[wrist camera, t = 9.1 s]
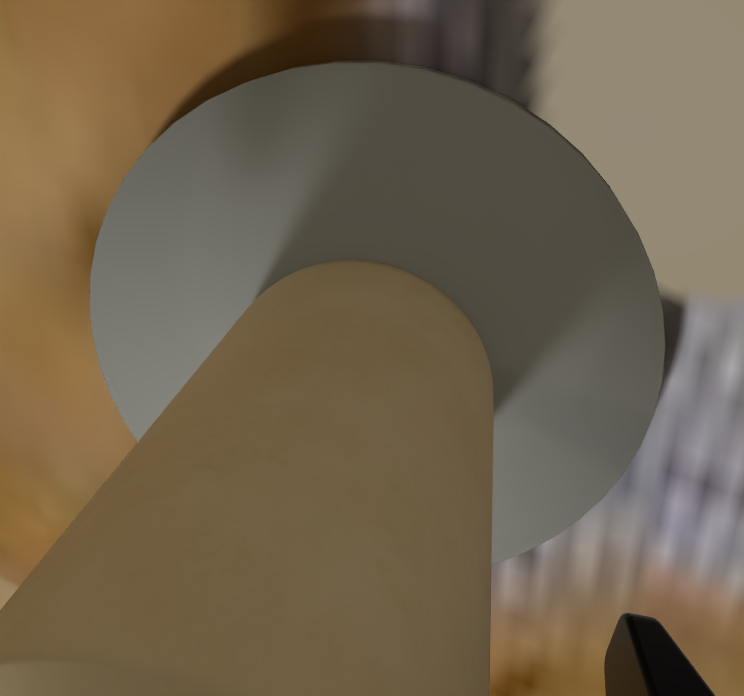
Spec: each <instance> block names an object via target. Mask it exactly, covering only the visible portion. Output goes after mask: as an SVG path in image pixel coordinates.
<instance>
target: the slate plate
mask: <svg viewBox="0 0 744 696" xmlns="http://www.w3.org/2000/svg"><path fill="white" fill-rule="evenodd" d="M335 260H364V261H373V262H378V263H383V264H388V265H391V266H394V267H397V268H400V269H403V270H406V271H408V272H410V273H412V274H414V275H417V276H419V277H421V278H423V279H424V280H426V281H428V282H429V283H431V284H432V285H434V286H435V287H437V288H438V289H440V290H441V291H442V292H443V293H445V294H446V295H447V296H448V297H449V298H451V299H452V300H453V301H454V302H455V303H456V304H457V305H458V307H459V308H460V309H461V310H462V311H463V312H464V313H465V314H466V316H467V317H468V319H469V320H470V321H471V323H472V324H473V326H474V327H475V329H476V331H477V333H478V335H479V337H480V339H481V340H482V343H483V346H484V349H485V351H486V354H487V357H488V360H489V363H490V368H491V374H492V379H493V408H494V432H493V494H492V556H491V564H495V563H498V562H501V561H503V560H506V559H509V558H511V557H514V556H516V555H519V554H521V553H524V552H527V551H528V550H530V549H532V548H534V547H536V546H538V545H540V544H542V543H544V542H545V541H547V540H549V539H551V538H553V537H555V536H556V535H558V534H559V533H560V532H562V531H563V530H565V529H566V528H568V527H569V526H571V525H572V524H573V523H575V522H576V521H578V520H579V519H580V518H581V517H583V516H584V515H585V514H586V513H587V512H588V511H589V510H590V509H591V508H593V507H594V506H595V505H596V504H597V503H598V502H599V501H600V500H601V499H602V498H603V497H604V496H605V495H606V494H607V493H608V491H609V490H610V489H611V488H612V487H613V485H614V484H615V483H616V482H617V481H618V480H619V478H620V477H621V476H622V475H623V474H624V472H625V470H626V469H627V467H628V465H629V464H630V462H631V461H632V459H633V457H634V456H635V454H636V453H637V451H638V449H639V448H640V446H641V444H642V441H643V439H644V437H645V435H646V432H647V430H648V428H649V425H650V423H651V421H652V418H653V416H654V412H655V408H656V404H657V401H658V397H659V393H660V389H661V385H662V378H663V368H664V357H665V334H664V319H663V308H662V304H661V300H660V296H659V291H658V287H657V283H656V278H655V274H654V271H653V268H652V266H651V263H650V261H649V259H648V256H647V254H646V251H645V249H644V246H643V244H642V242H641V239H640V236H639V234H638V232H637V231H636V229H635V228H634V226H633V224H632V223H631V221H630V219H629V218H628V216H627V214H626V213H625V211H624V209H623V208H622V206H621V204H620V203H619V201H618V199H617V198H616V196H615V194H614V193H613V191H612V190H611V188H610V186H609V185H608V184H607V183H606V181H605V180H604V179H603V178H602V177H601V176H600V174H599V173H598V172H597V171H596V169H595V168H594V167H593V166H592V165H591V163H590V162H589V161H588V160H587V159H586V157H585V156H584V155H583V154H582V153H581V152H580V151H579V150H578V149H577V148H576V147H574V146H573V145H572V144H571V143H570V142H569V141H568V140H567V139H565V138H564V137H563V136H562V135H561V134H560V133H559V132H558V131H557V130H555V129H554V128H553V127H552V126H551V125H550V124H548V123H547V122H545V121H544V120H542V119H541V118H539V117H538V116H536V115H535V114H533V113H532V112H530V111H529V110H527V109H526V108H524V107H523V106H521V105H520V104H518V103H517V102H515V101H514V100H512V99H510V98H507V97H505V96H503V95H501V94H499V93H497V92H495V91H493V90H491V89H488V88H486V87H484V86H482V85H480V84H478V83H476V82H474V81H471V80H468V79H464V78H461V77H458V76H455V75H451V74H448V73H445V72H442V71H438V70H435V69H432V68H428V67H422V66H415V65H409V64H403V63H396V62H390V61H360V60H340V61H332V62H325V63H318V64H311V65H303V66H298V67H294V68H291V69H287V70H284V71H281V72H277V73H274V74H270V75H267V76H263V77H260V78H257V79H254V80H251V81H248V82H245V83H243V84H241V85H239V86H237V87H235V88H233V89H230V90H228V91H226V92H224V93H222V94H220V95H218V96H215V97H213V98H211V99H209V100H207V101H205V102H204V103H203V104H201V105H200V106H198V107H197V108H195V109H194V110H192V111H191V112H189V113H188V114H186V115H185V116H183V117H182V118H180V119H179V120H178V121H176V122H175V123H173V124H172V125H171V126H170V127H169V128H168V129H167V130H166V131H165V132H164V133H163V134H162V135H161V136H160V137H159V138H157V139H156V140H155V141H154V142H153V143H152V144H151V145H150V146H149V147H148V148H147V149H146V150H145V151H144V153H143V154H142V155H141V157H140V158H139V159H138V161H137V162H136V163H135V165H134V166H133V167H132V168H131V170H130V171H129V172H128V174H127V175H126V176H125V178H124V179H123V181H122V183H121V185H120V187H119V189H118V191H117V192H116V194H115V196H114V198H113V200H112V202H111V204H110V205H109V207H108V209H107V212H106V215H105V218H104V221H103V224H102V227H101V230H100V233H99V235H98V238H97V241H96V247H95V252H94V258H93V263H92V269H91V279H90V314H91V323H92V333H93V339H94V343H95V348H96V352H97V356H98V360H99V364H100V368H101V371H102V373H103V376H104V378H105V381H106V384H107V386H108V389H109V392H110V394H111V397H112V399H113V401H114V403H115V405H116V406H117V408H118V410H119V412H120V414H121V416H122V418H123V420H124V422H125V424H126V425H127V427H128V428H129V430H130V431H131V433H132V434H133V436H134V437H135V439H136V440H137V442H138V441H139V440H140V439H141V438H142V436H143V435H144V434H145V433H146V432H147V430H148V429H149V428H150V427H151V425H152V424H153V423H154V422H155V421H156V419H157V418H158V417H159V416H160V414H161V413H162V412H163V411H164V410H165V408H166V407H167V406H168V405H169V403H170V402H171V401H172V400H173V399H174V397H175V396H176V395H177V394H178V392H179V391H180V390H181V389H182V388H183V386H184V385H185V384H186V383H187V381H188V380H189V379H190V378H191V377H192V375H193V374H194V373H195V372H196V370H197V369H198V368H199V367H200V366H201V364H202V363H203V362H204V361H205V359H206V358H207V357H208V356H209V355H210V353H211V352H212V351H213V350H214V348H215V347H216V346H217V345H218V344H219V342H220V341H221V340H222V339H223V337H224V336H225V335H226V334H227V333H228V331H229V330H230V329H231V328H232V326H233V325H234V324H235V323H236V322H237V320H238V319H239V318H240V317H241V316H242V314H243V313H244V312H245V311H246V310H247V309H248V308H249V307H250V305H251V304H252V303H253V302H254V301H255V300H256V299H257V298H258V297H259V296H260V295H261V294H262V293H263V292H264V291H265V290H266V289H268V288H269V287H271V286H272V285H274V284H275V283H277V282H278V281H279V280H281V279H283V278H284V277H286V276H288V275H290V274H292V273H294V272H296V271H298V270H300V269H302V268H305V267H308V266H311V265H314V264H318V263H324V262H329V261H335Z"/></svg>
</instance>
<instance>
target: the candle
mask: <svg viewBox="0 0 744 696" xmlns="http://www.w3.org/2000/svg"><path fill="white" fill-rule="evenodd" d="M493 432H494V408H493V379H492V374H491V368H490V363H489V360H488V357H487V354H486V351H485V349H484V346H483V343H482V340H481V339H480V337H479V335H478V333H477V331H476V329H475V327H474V326H473V324H472V323H471V321H470V320H469V319H468V317H467V316H466V314H465V313H464V312H463V311H462V310H461V309H460V308H459V307H458V305H457V304H456V303H455V302H454V301H453V300H452V299H451V298H449V297H448V296H447V295H446V294H445V293H443V292H442V291H441V290H440V289H438V288H437V287H435V286H434V285H432V284H431V283H429V282H428V281H426V280H424V279H423V278H421V277H419V276H417V275H414V274H412V273H410V272H408V271H406V270H403V269H400V268H397V267H394V266H391V265H388V264H383V263H378V262H373V261H364V260H335V261H329V262H324V263H318V264H314V265H311V266H308V267H305V268H302V269H300V270H298V271H296V272H294V273H292V274H290V275H288V276H286V277H284V278H283V279H281V280H279V281H278V282H277V283H275V284H274V285H272V286H271V287H269V288H268V289H266V290H265V291H264V292H263V293H262V294H261V295H260V296H259V297H258V298H257V299H256V300H255V301H254V302H253V303H252V304H251V305H250V307H249V308H248V309H247V310H246V311H245V312H244V313H243V314H242V316H241V317H240V318H239V319H238V320H237V322H236V323H235V324H234V325H233V326H232V328H231V329H230V330H229V331H228V333H227V334H226V335H225V336H224V337H223V339H222V340H221V341H220V342H219V344H218V345H217V346H216V347H215V348H214V350H213V351H212V352H211V353H210V355H209V356H208V357H207V358H206V359H205V361H204V362H203V363H202V364H201V366H200V367H199V368H198V369H197V370H196V372H195V373H194V374H193V375H192V377H191V378H190V379H189V380H188V381H187V383H186V384H185V385H184V386H183V388H182V389H181V390H180V391H179V392H178V394H177V395H176V396H175V397H174V399H173V400H172V401H171V402H170V403H169V405H168V406H167V407H166V408H165V410H164V411H163V412H162V413H161V414H160V416H159V417H158V418H157V419H156V421H155V422H154V423H153V424H152V425H151V427H150V428H149V429H148V430H147V432H146V433H145V434H144V435H143V436H142V438H141V439H140V440H139V441H138V443H137V444H136V445H135V446H134V447H133V449H132V450H131V451H130V452H129V454H128V455H127V456H126V457H125V458H124V460H123V461H122V462H121V463H120V465H119V466H118V467H117V468H116V469H115V471H114V472H113V473H112V474H111V476H110V477H109V478H108V479H107V480H106V482H105V483H104V484H103V485H102V487H101V488H100V489H99V490H98V491H97V493H96V494H95V495H94V496H93V498H92V499H91V500H90V501H89V502H88V504H87V505H86V506H85V507H84V509H83V510H82V511H81V512H80V513H79V515H78V516H77V517H76V518H75V520H74V521H73V522H72V523H71V524H70V526H69V527H68V528H67V529H66V531H65V532H64V533H63V534H62V535H61V537H60V538H59V539H58V540H57V542H56V543H55V544H54V545H53V546H52V548H51V549H50V550H49V551H48V553H47V554H46V555H45V556H44V557H43V559H42V560H41V561H40V562H39V564H38V565H37V566H36V567H35V568H34V570H33V571H32V572H31V573H30V575H29V576H28V577H27V578H26V579H25V581H24V582H23V583H22V584H21V586H20V587H19V588H18V589H17V590H16V592H15V593H14V594H13V595H12V597H11V598H10V599H9V600H8V601H7V603H6V604H5V605H4V607H3V608H2V609H1V610H0V696H489V681H490V619H491V556H492V494H493Z"/></svg>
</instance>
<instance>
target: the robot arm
mask: <svg viewBox="0 0 744 696" xmlns="http://www.w3.org/2000/svg"><path fill="white" fill-rule="evenodd" d="M604 672H605V689H606V696H715V695H714V693H713V692H712V691H711V689H710V688H709V687H708V685H707V684H706V683H705V681H704V680H703V679H702V678H701V676H700V675H699V674H698V672H697V671H696V670H695V668H694V667H693V666H692V664H691V663H690V662H689V660H688V659H687V658H686V656H685V655H684V654H683V652H682V651H681V650H680V648H679V647H678V646H677V644H676V643H675V642H674V640H673V639H672V638H671V636H670V635H669V634H668V632H667V631H666V630H665V628H664V627H663V626H662V625H661V623H660V622H659V621H657V620H656V619H654V618H652V617H648V616H642V615H637V614H631V613H625V614H623V615H622V616H621V617H620V618H619V620H618V623H617V625H616V628H615V631H614V633H613V636H612V638H611V641H610V644H609V646H608V649H607V652H606V656H605V666H604Z"/></svg>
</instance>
